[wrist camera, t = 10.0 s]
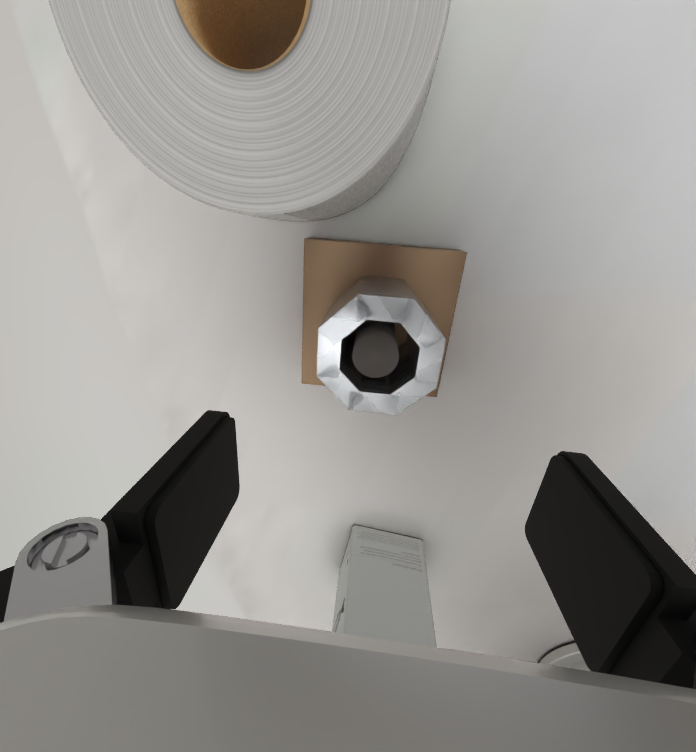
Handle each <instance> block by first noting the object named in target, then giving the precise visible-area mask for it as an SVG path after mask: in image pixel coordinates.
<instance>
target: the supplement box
mask: <svg viewBox="0 0 696 752" xmlns="http://www.w3.org/2000/svg"><path fill="white" fill-rule="evenodd" d="M332 632H337V633H344V634H351V635H357V636H364V637H371V638H377V639H384V640H391V641H397V642H404V643H411V644H417V645H424V646H431V647H437V646H436V639H435V631H434V624H433V616H432V609H431V602H430V594H429V587H428V579H427V572H426V564H425V556H424V549H423V541H422V540H420V539H416V538H412V537H407V536H403V535H398V534H394V533H389V532H385V531H380V530H376V529H371V528H366V527H362V526H357V525H354V526H353V527H352V530H351V535H350V539H349V542H348V546H347V549H346V553H345V556H344V559H343V562H342V565H341V567H340V570H339V577H338V586H337V594H336V602H335V611H334V619H333V628H332Z"/></svg>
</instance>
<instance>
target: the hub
mask: <svg viewBox="0 0 696 752" xmlns="http://www.w3.org/2000/svg"><path fill="white" fill-rule="evenodd" d="M366 320H375V321H386V322H396V323H401V324H402V326H403V327H404V328H405V329H406V331H407V332H408V333H407V339H406V341H405V342H404V343H403V344H401V345H400V346H399V347H398V351H399V360H398V364H397V366H396V367H395V369H394V370H393V371H392V372H391V373H389V374H388V375H386V376H383V377H379V378H372V377H368V376H365V375H363V374H362V373H360V372H359V371H358V370H357V369H356V367H355V365H354V363H353V359H352V353H353V348H354V343H355V342H354V341H353V340H352V339H351V338H350V337H349V335H348V334H350V333H351V332H352V331H353V330H355V329H356V328H357V327H358V326H359V325H361V324H362V323H363V322H364V321H366ZM445 344H446V339H445V337H444V335H443V334H442V332H441V330H440V328H439V327H438V325H437V323H436V322H435V320H434V318H433V316H432V315H431V313H430V311H429V310H428V309H427V308H426V306H425V305H424V304H423V303H422V301H421V300H420V299H419V297H418V296H417V295H416V293H415V292H414V291H413V290H412V288H411V287H410V286H409V284H408V283H407V282H406V280H403V279H392V278H380V277H369V276H363V277H362V278H361V279H359V280H358V281H357V282H356V283H355V284H354V285H352V286H351V287H350V288H349V289H348V290H347V291H346V292H344V293H343V294H342V295H341V296H340V297H339V298H337V299H336V300H335V301H334V302H333V303H332V304H331V306H330V308H329V310H328V312H327V313H326V315H325V317H324V319H323V321H322V322H321V324H320V326H319V328H318V352H317V375H316V376H317V377H318V378H319V379H320V380H321V381H322V382H323V383H324V384H325V385H326V386H327V387H328V388H329V390H330V391H331V392H332V393H333V394H334V395H335V396H336V397H337V398H338V399H339V400H340V401H341V402H342V403H343V404H344V405H345V406H346V407H347V408H348V410H356V411H366V412H375V413H385V414H394V415H397V414H398V413H400V412H401V411H403V410H404V409H406V408H407V407H409V406H410V405H412V404H413V403H415V402H416V401H418V400H419V399H421V398H422V397H424V396H425V395H427V394H428V393H430V392H431V391H433V390H434V389H436V388H437V383H438V378H439V373H440V368H441V363H442V359H443V354H444V349H445Z"/></svg>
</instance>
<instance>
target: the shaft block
mask: <svg viewBox="0 0 696 752" xmlns="http://www.w3.org/2000/svg"><path fill="white" fill-rule="evenodd" d="M466 254H467V252H464V251H461V250H453V249H441V248H429V247H417V246H405V245H393V244H381V243H369V242H357V241H345V240H334V239H322V238H306V239H304V284H303V340H302V383H304V384H314V385H324V386H326V385H325V384H324V383H323V382H322V381H321V380H320V379H319V378H318V377H317V376H316V375H317V352H318V328H319V326H320V324H321V322H322V321H323V319H324V317H325V315H326V313H327V312H328V310H329V308H330V306H331V304H332V303H333V302H334V301H335V300H336V299H337V298H339V297H340V296H341V295H342V294H343V293H344V292H346V291H347V290H348V289H349V288H350V287H351V286H352V285H354V284H355V283H356V282H357V281H358V280H359V279H361V278H362V277H363V276H369V277H380V278H392V279H403V280H406V282H407V283H408V284H409V286H410V287H411V288H412V290H413V291H414V292H415V293H416V295H417V296H418V297H419V299H420V300H421V301H422V303H423V304H424V305H425V306H426V308H427V309H428V310H429V311H430V313H431V315H432V316H433V318H434V320H435V322H436V323H437V325H438V327H439V328H440V330H441V332H442V334H443V335H444V337H445V339H446V344H445V349H444V354H443V359H442V363H441V368H440V373H439V378H438V383H437V388H436V389H434V390H433V391H431V392H430V393H428V394H427V395H425V396H431V397H437V393H438V388H439V383H440V379H441V374H442V369H443V364H444V360H445V355H446V350H447V345H448V340H449V336H450V331H451V326H452V321H453V317H454V312H455V307H456V302H457V297H458V293H459V288H460V283H461V278H462V274H463V269H464V264H465V259H466ZM407 333H408V332H407V331H406V329H405V328H404V327H403V326H402V324H401V323H396V322H386V321H375V320H366V321H364V322H363V323H362V324H361V325H359V326H358V327H357V328H356V329H355V330H353V331H352V332H351V333H350V334H348V335H349V337H350V338H351V339H352V340H353V341H354V342H355V343H354V348H353V353H352V359H353V363H354V365H355V367H356V369H357V370H358V371H359V372H360V373H362V374H363V375H365V376H368V377H372V378H379V377H383V376H386V375H388V374H389V373H391V372H392V371H393V370H394V369H395V367H396V366H397V364H398V360H399V351H398V347H399V346H400V345H401V344H403V343H404V342H405V341H406V339H407Z"/></svg>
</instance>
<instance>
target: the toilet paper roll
mask: <svg viewBox="0 0 696 752" xmlns="http://www.w3.org/2000/svg"><path fill="white" fill-rule="evenodd" d="M450 2H451V0H49V3H50V6H51V9H52V12H53V15H54V18H55V22H56V25H57V28H58V30H59V33H60V35H61V38H62V40H63V43H64V46H65V48H66V51H67V53H68V55H69V57H70V59H71V62H72V64H73V66H74V68H75V70H76V72H77V74H78V76H79V78H80V80H81V82H82V84H83V85H84V87H85V89H86V91H87V93H88V94H89V96H90V98H91V99H92V101H93V102H94V104H95V106H96V107H97V109H98V110H99V112H100V113H101V115H102V116H103V118H104V119H105V120H106V122H107V123H108V124H109V126H110V127H111V128H112V130H113V131H114V132H115V134H116V135H117V136H118V137H119V138H120V140H121V141H122V142H123V143H124V144H125V145H126V146H127V148H128V149H129V150H130V151H131V152H132V153H133V154H134V155H135V156H136V157H137V158H138V159H139V160H140V161H141V162H142V163H143V164H144V165H146V166H147V167H148V168H149V169H150V170H151V171H153V172H154V173H155V174H156V175H157V176H159V177H160V178H161V179H163V180H164V181H166V182H167V183H168V184H170V185H171V186H173V187H174V188H176V189H178V190H179V191H181V192H183V193H184V194H186V195H188V196H190V197H192V198H194V199H196V200H198V201H200V202H203V203H205V204H207V205H210V206H213V207H216V208H219V209H222V210H226V211H231V212H235V213H239V214H245V215H250V216H255V217H261V218H268V219H276V220H285V221H312V220H321V219H326V218H331V217H335V216H338V215H341V214H344V213H347V212H349V211H351V210H353V209H355V208H357V207H359V206H360V205H362V204H363V203H365V202H366V201H368V200H369V199H370V198H371V197H372V196H373V195H375V194H376V193H377V192H378V191H379V190H380V188H381V187H382V186H383V185H384V184H385V183H386V181H387V180H388V179H389V177H390V176H391V175H392V173H393V172H394V170H395V169H396V167H397V166H398V164H399V163H400V161H401V159H402V157H403V155H404V153H405V151H406V149H407V147H408V146H409V144H410V142H411V140H412V137H413V135H414V133H415V130H416V128H417V126H418V123H419V120H420V117H421V114H422V111H423V108H424V105H425V102H426V98H427V95H428V92H429V89H430V86H431V82H432V78H433V75H434V71H435V67H436V63H437V59H438V55H439V51H440V47H441V43H442V40H443V36H444V32H445V28H446V24H447V19H448V13H449V8H450Z"/></svg>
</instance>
